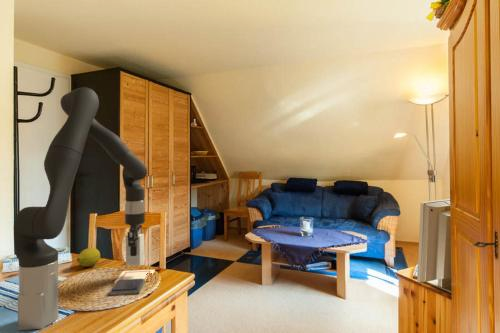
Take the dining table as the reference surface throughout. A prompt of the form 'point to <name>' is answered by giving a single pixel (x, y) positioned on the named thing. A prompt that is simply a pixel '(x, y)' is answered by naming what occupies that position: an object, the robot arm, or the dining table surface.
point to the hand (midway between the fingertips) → (135, 253)
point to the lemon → (88, 257)
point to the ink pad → (127, 286)
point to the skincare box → (139, 257)
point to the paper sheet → (134, 274)
